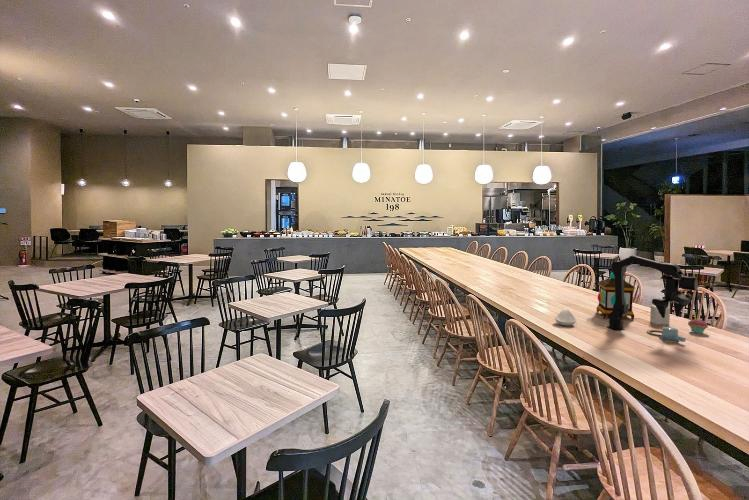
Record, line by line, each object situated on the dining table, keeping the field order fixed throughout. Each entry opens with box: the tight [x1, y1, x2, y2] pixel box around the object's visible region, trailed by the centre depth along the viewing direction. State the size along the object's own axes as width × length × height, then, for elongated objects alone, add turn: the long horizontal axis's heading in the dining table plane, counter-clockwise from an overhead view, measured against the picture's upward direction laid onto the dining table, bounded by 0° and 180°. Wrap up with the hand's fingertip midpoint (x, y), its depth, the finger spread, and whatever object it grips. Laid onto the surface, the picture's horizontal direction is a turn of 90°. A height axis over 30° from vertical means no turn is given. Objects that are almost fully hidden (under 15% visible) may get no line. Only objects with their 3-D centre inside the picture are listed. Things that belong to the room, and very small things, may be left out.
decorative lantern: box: [596, 272, 636, 321], centre depth 252 cm, size 20×20×30 cm
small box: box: [649, 304, 671, 325], centre depth 235 cm, size 8×6×10 cm
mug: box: [661, 326, 686, 343], centre depth 202 cm, size 11×7×6 cm, turn 7°
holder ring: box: [646, 329, 662, 337], centre depth 215 cm, size 10×10×1 cm
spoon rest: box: [554, 308, 577, 327], centre depth 241 cm, size 24×12×7 cm, turn 156°
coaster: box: [658, 336, 680, 343], centre depth 205 cm, size 9×9×1 cm
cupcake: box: [687, 311, 709, 334], centre depth 216 cm, size 9×8×12 cm
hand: (670, 317), depth 204 cm, fingers open, 9 cm apart
